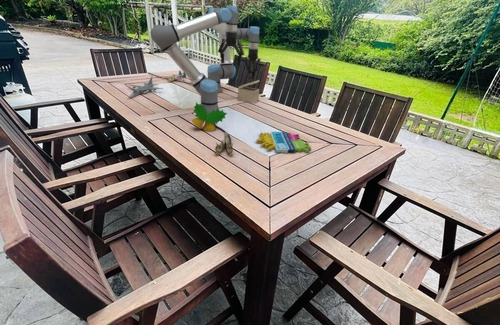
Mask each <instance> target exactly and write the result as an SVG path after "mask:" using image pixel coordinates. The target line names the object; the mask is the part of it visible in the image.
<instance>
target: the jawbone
mask: <svg viewBox="0 0 500 325" xmlns="http://www.w3.org/2000/svg"><path fill="white" fill-rule="evenodd" d="M223 133H224V134H223V135H224V136H223V140H222V139H221V142H220V144H218V142H215V144H216V146H215V148H214V149H215V152H214V154H215V155H217V156H218V155H220V153H221V152H223V151H224V150H226V152H227V154H228V153H230V154H228V155H229V156H233V155H234V154H233V153H234V148H233V144H234V143H231V145H230V140H228V139H229V137H228V134H229V133H228V131H226V132H223Z"/></svg>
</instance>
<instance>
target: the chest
mask: <svg viewBox="0 0 500 325" xmlns="http://www.w3.org/2000/svg"><path fill="white" fill-rule="evenodd" d="M259 98H260V88H254V87H248V86H245V87H242V88H237V101H241V102H245V103H250V104H255V103H257V102H258V101H259Z"/></svg>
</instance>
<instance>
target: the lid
mask: <svg viewBox="0 0 500 325" xmlns="http://www.w3.org/2000/svg"><path fill="white" fill-rule="evenodd" d="M249 76H250V78H251V79H250V81H251V82H248V83H245V84H241V85H239V86H237V89H239V88H242V87H248V86H251V85H254V84H257V83H259V82H260V79H258V80H257V79H256V78H257V77H256V75H255V76H254V80H252V73H250V74H249V73H248V77H249Z"/></svg>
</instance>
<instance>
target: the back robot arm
mask: <svg viewBox="0 0 500 325" xmlns="http://www.w3.org/2000/svg"><path fill="white" fill-rule="evenodd" d="M209 29H210V30H215V31H216V32H217V33H218V40H219V46H220V45H221V43H222V39H226V32H227V31H226V23H221V24H218V25H215V26H213V27H210V28H209ZM236 33H237V39H236V40H248V50H247V52H248V55H247V56H245V57H244V59H245V67H246V68H245V70H246V71H248V80H251V78H250V76H249V74H250V73H252V76H251V77H252V81H255V79H254V76H255V77H256V72H258V71H259V66H260V62H261V60H262V58H259V43H260V42H259V41H260V27H259V26H249V28H246V27H243V28H241V27H237V32H236ZM225 44H226V42H225ZM225 44H224V46H225ZM224 46H223V48H224ZM223 48H222V49H223ZM223 53H224V63H221V62H220V63H216V64H215V63H214V64H209V65H208V66H207V70H206V72H207V78H208V79H209V80H214V81H216V82H217V84H218V94H220V93H222V92H223V88H222V84H221V80H230V79H233V78H234V77H235V76H236V72H237V69H236V66H235V65H233V62H232V61H231V48H230V46H228V47H227V48H226V50H225V51H224V52H223ZM147 73H148V74H150V75H151V76H153V77H154V76H155V77H158V78H160V79H162V77H163V76H160V75H156V74H154V73H151V72H147ZM163 79H164V80H167V79H166V78H163ZM172 82H180V83H184V84H189V85H192V84H191V82H188V81H182V80H173V81H172Z"/></svg>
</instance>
